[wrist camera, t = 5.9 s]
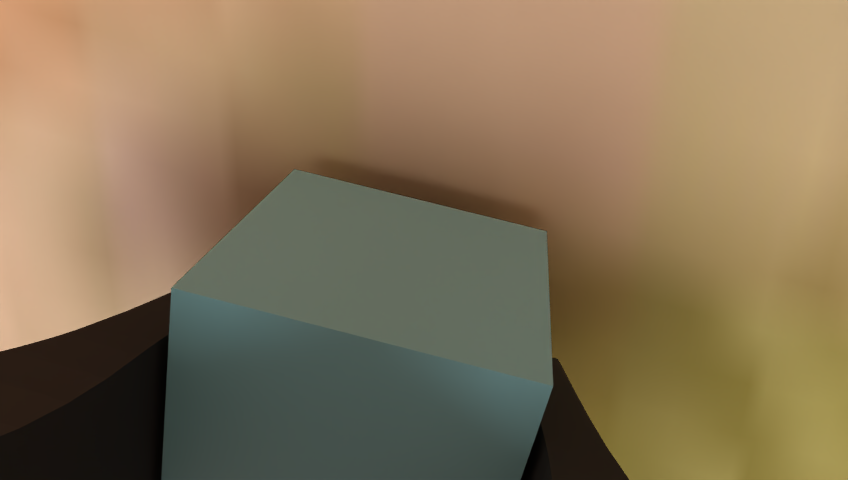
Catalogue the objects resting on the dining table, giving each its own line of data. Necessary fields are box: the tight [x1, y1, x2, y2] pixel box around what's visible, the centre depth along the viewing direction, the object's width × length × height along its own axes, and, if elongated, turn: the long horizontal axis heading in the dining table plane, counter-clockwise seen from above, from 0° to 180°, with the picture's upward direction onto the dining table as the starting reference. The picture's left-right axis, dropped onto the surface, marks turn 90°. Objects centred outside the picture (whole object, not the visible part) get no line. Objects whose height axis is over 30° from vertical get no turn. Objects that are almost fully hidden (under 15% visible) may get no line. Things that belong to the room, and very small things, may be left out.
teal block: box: [161, 169, 553, 480], centre depth 12 cm, size 5×5×5 cm
